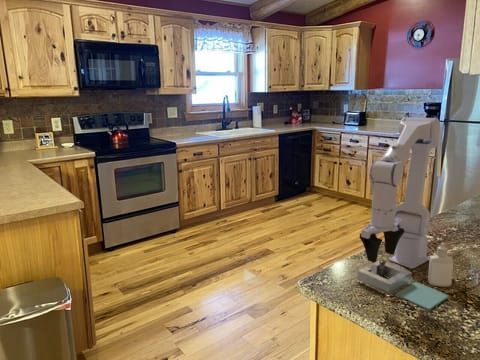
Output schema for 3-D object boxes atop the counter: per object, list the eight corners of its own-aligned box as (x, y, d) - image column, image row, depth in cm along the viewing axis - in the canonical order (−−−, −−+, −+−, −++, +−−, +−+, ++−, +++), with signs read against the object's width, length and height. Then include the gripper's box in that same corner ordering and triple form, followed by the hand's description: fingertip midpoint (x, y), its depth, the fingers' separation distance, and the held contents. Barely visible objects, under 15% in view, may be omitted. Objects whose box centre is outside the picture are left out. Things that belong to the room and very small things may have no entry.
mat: (415, 283, 104) (415, 281, 104) (448, 297, 97) (449, 295, 96) (395, 295, 98) (395, 293, 98) (429, 310, 91) (429, 308, 91)
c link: (378, 270, 111) (379, 260, 111) (410, 284, 104) (411, 272, 103) (357, 281, 106) (357, 270, 105) (389, 296, 98) (389, 284, 97)
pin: (380, 275, 109) (381, 259, 107) (386, 278, 107) (387, 261, 106) (377, 277, 108) (377, 261, 106) (382, 280, 106) (383, 263, 105)
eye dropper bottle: (448, 290, 100) (452, 248, 97) (425, 283, 103) (429, 243, 101) (453, 283, 103) (457, 243, 100) (431, 277, 106) (434, 238, 104)
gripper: (379, 217, 89) (376, 270, 92) (414, 206, 97) (410, 254, 100) (355, 210, 94) (353, 260, 98) (390, 200, 102) (387, 246, 105)
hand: (380, 257), depth 99 cm, fingers open, 7 cm apart
